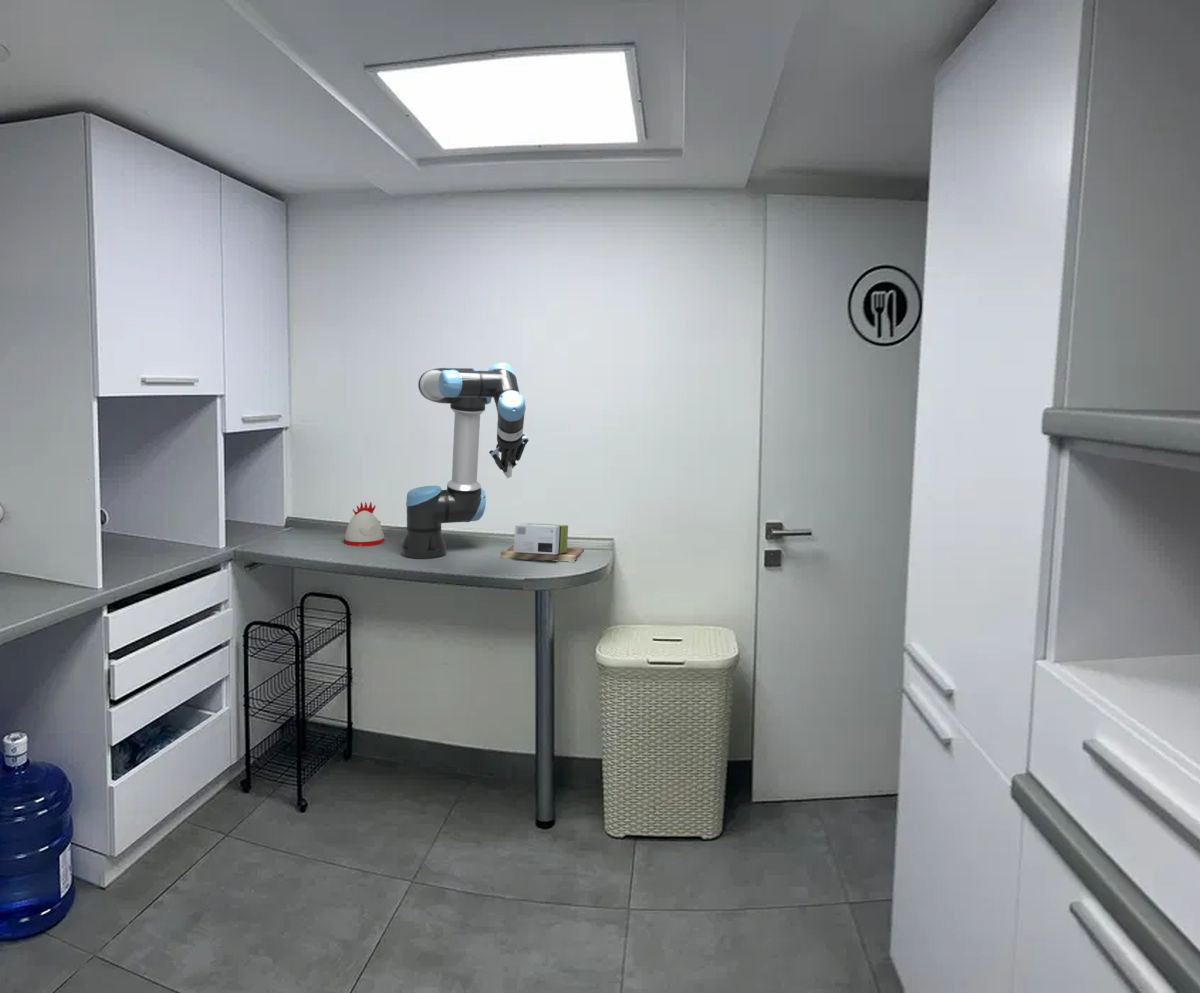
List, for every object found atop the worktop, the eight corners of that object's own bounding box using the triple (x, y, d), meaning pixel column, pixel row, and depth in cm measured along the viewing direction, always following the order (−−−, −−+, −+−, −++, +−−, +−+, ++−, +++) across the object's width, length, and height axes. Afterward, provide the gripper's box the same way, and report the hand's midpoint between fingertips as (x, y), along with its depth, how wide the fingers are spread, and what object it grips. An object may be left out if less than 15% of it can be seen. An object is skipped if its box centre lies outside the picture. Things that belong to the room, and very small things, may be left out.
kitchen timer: (388, 544, 277) (387, 504, 275) (349, 547, 270) (348, 506, 268) (379, 537, 289) (378, 498, 287) (341, 540, 282) (340, 500, 280)
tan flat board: (500, 557, 261) (500, 552, 261) (514, 546, 278) (514, 541, 278) (574, 562, 257) (574, 556, 257) (583, 550, 274) (583, 545, 274)
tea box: (514, 523, 256) (528, 522, 271) (512, 552, 256) (526, 550, 271) (557, 525, 253) (568, 525, 267) (555, 555, 253) (567, 553, 267)
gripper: (498, 450, 218) (496, 492, 238) (535, 431, 223) (530, 473, 243) (484, 432, 221) (483, 474, 241) (521, 413, 226) (518, 457, 246)
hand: (507, 474), depth 242 cm, fingers closed
